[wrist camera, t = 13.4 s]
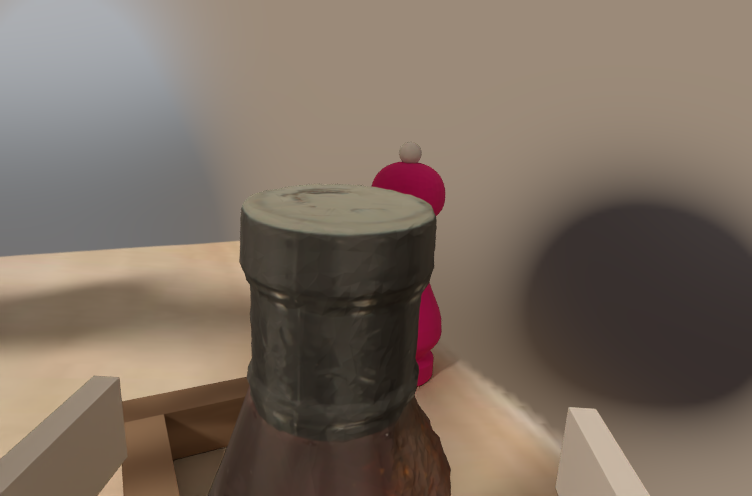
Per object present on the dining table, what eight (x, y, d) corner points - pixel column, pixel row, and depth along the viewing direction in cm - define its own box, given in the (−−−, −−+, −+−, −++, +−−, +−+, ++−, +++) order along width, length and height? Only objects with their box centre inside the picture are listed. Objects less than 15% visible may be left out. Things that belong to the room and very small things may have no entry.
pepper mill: (433, 353, 50) (450, 140, 44) (442, 394, 43) (464, 148, 37) (357, 350, 50) (365, 136, 44) (354, 391, 43) (363, 143, 37)
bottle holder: (122, 448, 35) (118, 402, 34) (320, 402, 41) (321, 362, 40) (135, 639, 23) (128, 576, 22) (411, 532, 29) (415, 480, 28)
